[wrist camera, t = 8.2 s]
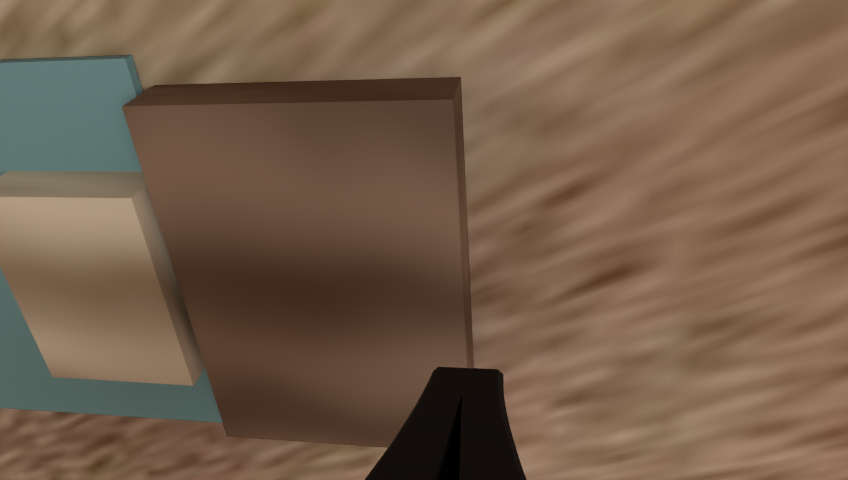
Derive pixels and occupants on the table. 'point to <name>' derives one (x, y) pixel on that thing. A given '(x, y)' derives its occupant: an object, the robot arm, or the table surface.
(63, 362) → the block
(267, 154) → the board
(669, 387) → the table surface
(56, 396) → the teal mat
